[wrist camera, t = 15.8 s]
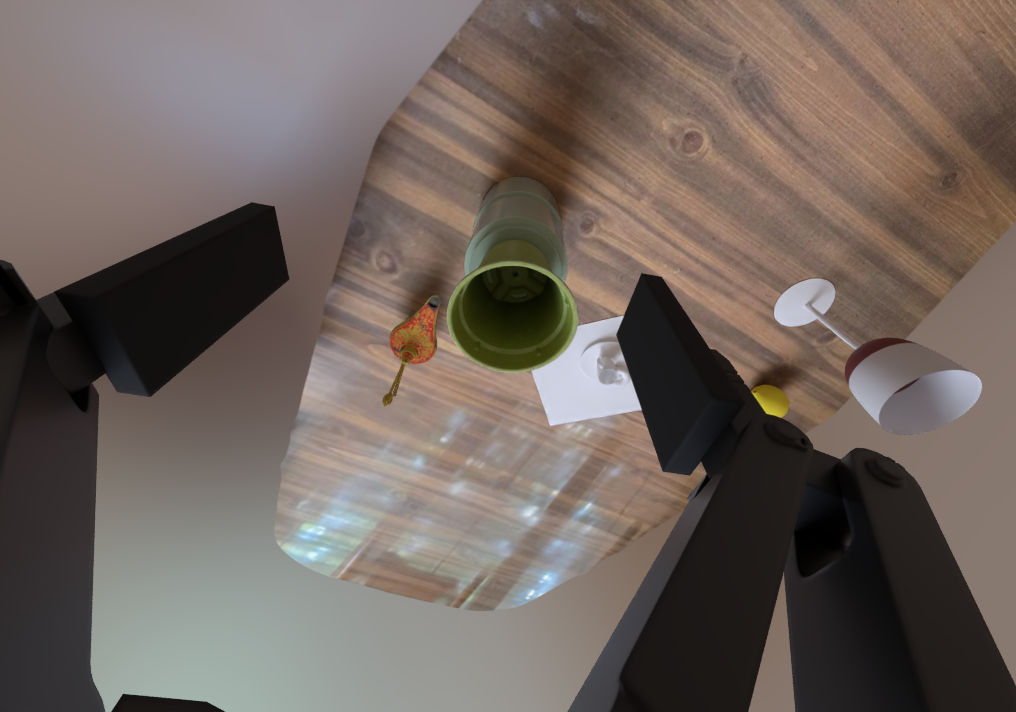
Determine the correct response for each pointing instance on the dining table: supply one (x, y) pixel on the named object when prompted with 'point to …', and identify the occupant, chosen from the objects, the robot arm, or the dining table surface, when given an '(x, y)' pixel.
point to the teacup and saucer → (588, 377)
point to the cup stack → (518, 224)
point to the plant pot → (512, 311)
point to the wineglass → (888, 369)
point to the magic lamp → (414, 340)
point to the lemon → (771, 400)
